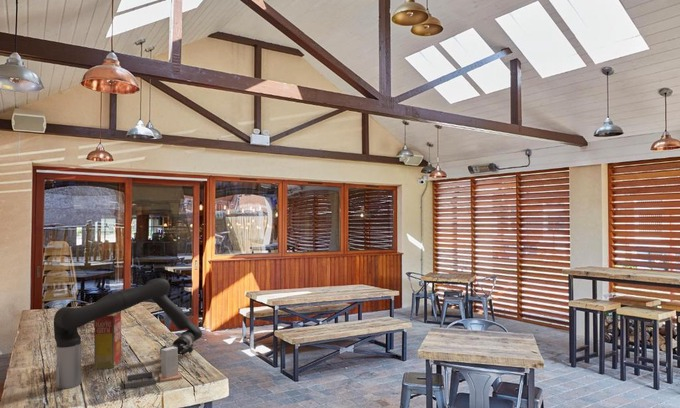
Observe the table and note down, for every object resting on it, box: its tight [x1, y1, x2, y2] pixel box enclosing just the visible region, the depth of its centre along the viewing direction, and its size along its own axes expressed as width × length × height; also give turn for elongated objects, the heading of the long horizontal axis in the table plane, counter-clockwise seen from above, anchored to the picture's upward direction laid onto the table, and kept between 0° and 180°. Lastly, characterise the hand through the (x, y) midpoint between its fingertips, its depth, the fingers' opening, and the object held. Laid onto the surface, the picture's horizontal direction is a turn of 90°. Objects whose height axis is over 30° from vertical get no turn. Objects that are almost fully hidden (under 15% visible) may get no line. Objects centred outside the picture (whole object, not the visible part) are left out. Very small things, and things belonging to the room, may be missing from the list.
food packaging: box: [93, 311, 122, 370], centre depth 232 cm, size 13×9×25 cm
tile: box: [158, 370, 183, 383], centre depth 210 cm, size 9×9×1 cm
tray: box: [124, 371, 156, 389], centre depth 206 cm, size 12×12×2 cm
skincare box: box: [160, 345, 179, 378], centre depth 211 cm, size 6×4×12 cm
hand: (172, 353), depth 214 cm, fingers open, 8 cm apart
